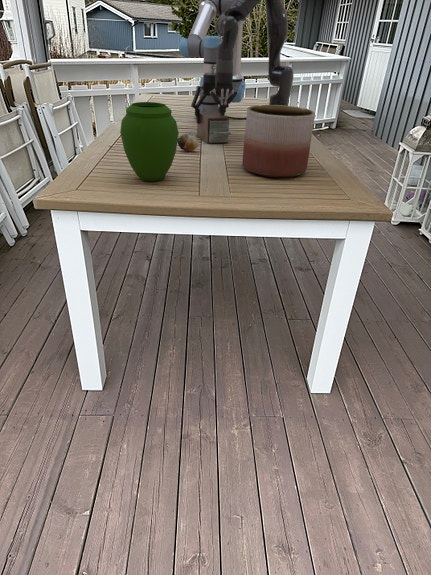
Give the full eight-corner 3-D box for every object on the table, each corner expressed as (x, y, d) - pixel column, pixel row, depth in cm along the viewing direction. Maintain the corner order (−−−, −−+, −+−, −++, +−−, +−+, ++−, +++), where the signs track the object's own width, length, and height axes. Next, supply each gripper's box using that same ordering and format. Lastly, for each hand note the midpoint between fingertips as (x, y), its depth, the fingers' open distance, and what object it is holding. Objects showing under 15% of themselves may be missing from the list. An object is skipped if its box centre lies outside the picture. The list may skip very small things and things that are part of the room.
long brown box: (227, 142, 199) (229, 118, 193) (207, 143, 196) (208, 118, 190) (216, 135, 213) (217, 111, 207) (197, 135, 210) (197, 111, 204)
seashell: (198, 149, 184) (198, 131, 180) (199, 152, 180) (199, 133, 175) (176, 149, 183) (176, 130, 179) (177, 152, 178) (177, 133, 174)
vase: (131, 189, 135) (125, 110, 122) (118, 172, 150) (112, 100, 137) (186, 184, 142) (187, 109, 129) (169, 168, 157) (167, 99, 144)
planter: (315, 179, 154) (326, 116, 142) (250, 180, 150) (256, 115, 138) (293, 161, 175) (302, 105, 163) (236, 161, 171) (240, 103, 159)
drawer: (231, 144, 193) (233, 123, 187) (213, 145, 190) (214, 123, 185) (217, 134, 210) (217, 114, 205) (199, 134, 207) (200, 114, 202)
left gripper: (189, 74, 186) (188, 124, 198) (237, 75, 193) (234, 124, 205) (184, 72, 192) (184, 121, 204) (231, 73, 199) (229, 121, 211)
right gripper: (212, 71, 172) (211, 115, 181) (241, 72, 176) (238, 115, 185) (207, 69, 178) (206, 112, 187) (235, 70, 182) (232, 112, 191)
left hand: (209, 123), depth 204 cm, fingers open, 11 cm apart
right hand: (222, 113), depth 186 cm, fingers closed
